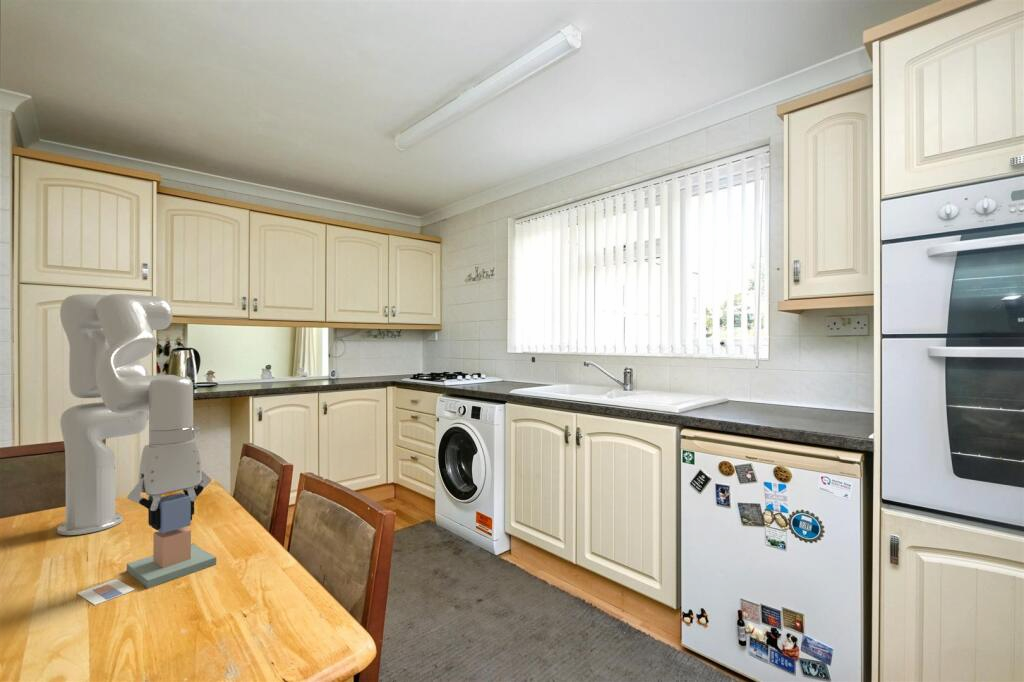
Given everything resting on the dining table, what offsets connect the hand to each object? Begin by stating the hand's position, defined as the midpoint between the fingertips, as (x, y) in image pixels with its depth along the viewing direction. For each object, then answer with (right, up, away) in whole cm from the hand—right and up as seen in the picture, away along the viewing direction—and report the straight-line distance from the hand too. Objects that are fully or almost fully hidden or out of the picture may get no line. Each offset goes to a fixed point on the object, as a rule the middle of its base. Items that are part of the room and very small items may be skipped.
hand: (171, 522), depth 99 cm
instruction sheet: (-6, -9, -10) cm, 14 cm away
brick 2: (0, -8, 0) cm, 8 cm away
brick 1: (0, -1, 0) cm, 1 cm away
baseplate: (0, -9, 0) cm, 9 cm away
